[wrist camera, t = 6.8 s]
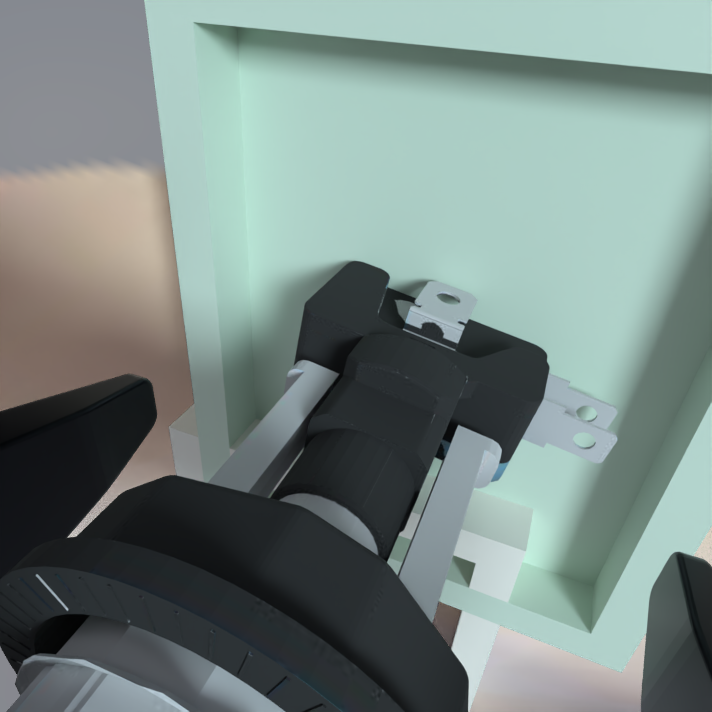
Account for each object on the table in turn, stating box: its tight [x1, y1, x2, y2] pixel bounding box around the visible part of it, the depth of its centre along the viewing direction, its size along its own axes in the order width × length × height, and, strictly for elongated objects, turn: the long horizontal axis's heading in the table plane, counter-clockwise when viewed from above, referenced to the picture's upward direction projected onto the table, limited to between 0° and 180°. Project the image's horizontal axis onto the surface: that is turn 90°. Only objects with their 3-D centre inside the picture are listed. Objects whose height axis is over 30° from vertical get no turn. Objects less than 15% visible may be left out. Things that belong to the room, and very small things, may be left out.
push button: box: [0, 261, 618, 712], centre depth 9 cm, size 7×5×10 cm
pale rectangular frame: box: [169, 404, 534, 712], centre depth 19 cm, size 10×12×2 cm
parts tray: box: [144, 0, 712, 673], centre depth 12 cm, size 12×14×2 cm
